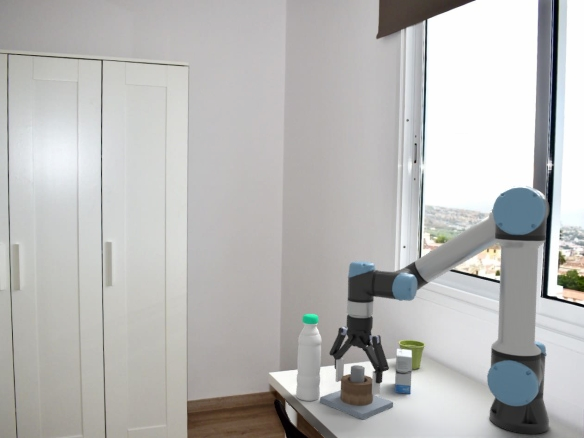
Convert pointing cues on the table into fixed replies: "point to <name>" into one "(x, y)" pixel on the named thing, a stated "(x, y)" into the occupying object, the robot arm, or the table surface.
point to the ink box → (403, 371)
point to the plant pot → (413, 351)
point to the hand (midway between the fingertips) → (357, 387)
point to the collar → (356, 391)
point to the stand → (357, 411)
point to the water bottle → (309, 360)
